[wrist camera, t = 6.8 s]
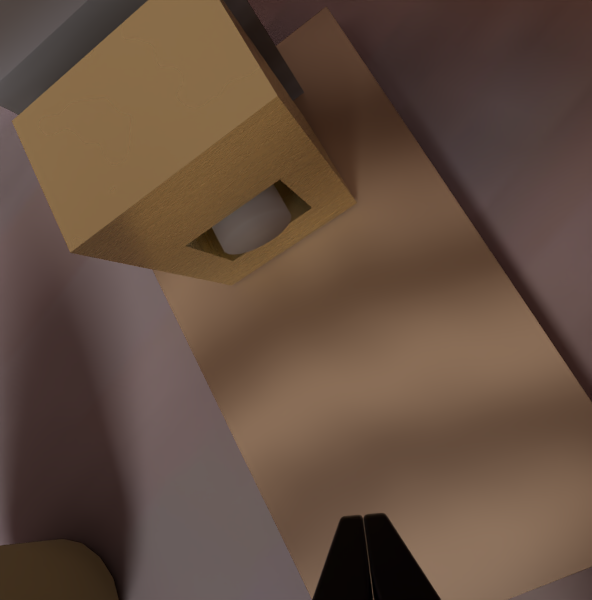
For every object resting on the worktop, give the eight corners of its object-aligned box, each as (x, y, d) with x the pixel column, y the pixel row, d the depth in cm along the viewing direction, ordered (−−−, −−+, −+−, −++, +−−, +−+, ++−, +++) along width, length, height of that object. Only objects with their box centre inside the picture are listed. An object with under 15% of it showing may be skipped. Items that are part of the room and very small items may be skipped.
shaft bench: (662, 517, 15) (995, 814, 6) (349, 642, 18) (239, 976, 9) (333, 24, 20) (227, -249, 11) (125, 185, 23) (-105, 83, 14)
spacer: (357, 203, 18) (277, 96, 10) (231, 285, 19) (70, 252, 11) (306, 120, 19) (194, -42, 11) (189, 205, 20) (11, 121, 12)
